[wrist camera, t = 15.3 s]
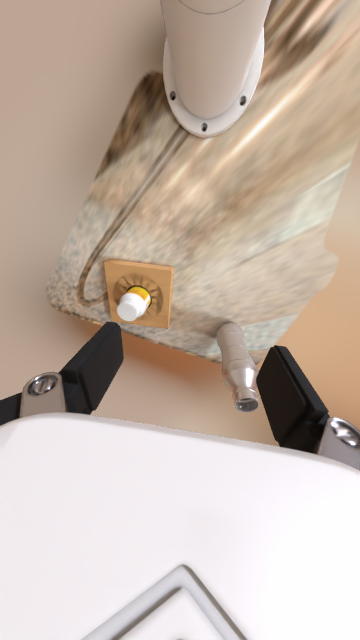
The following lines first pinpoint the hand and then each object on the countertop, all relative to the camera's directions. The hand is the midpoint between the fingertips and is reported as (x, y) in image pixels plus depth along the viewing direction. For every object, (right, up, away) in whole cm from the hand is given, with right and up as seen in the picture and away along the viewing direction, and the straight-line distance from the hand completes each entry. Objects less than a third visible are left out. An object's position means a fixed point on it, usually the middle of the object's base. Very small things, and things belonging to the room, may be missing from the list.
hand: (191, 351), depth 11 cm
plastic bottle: (+12, -1, +32) cm, 34 cm away
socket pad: (-10, +8, +29) cm, 32 cm away
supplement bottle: (-9, +8, +30) cm, 32 cm away
